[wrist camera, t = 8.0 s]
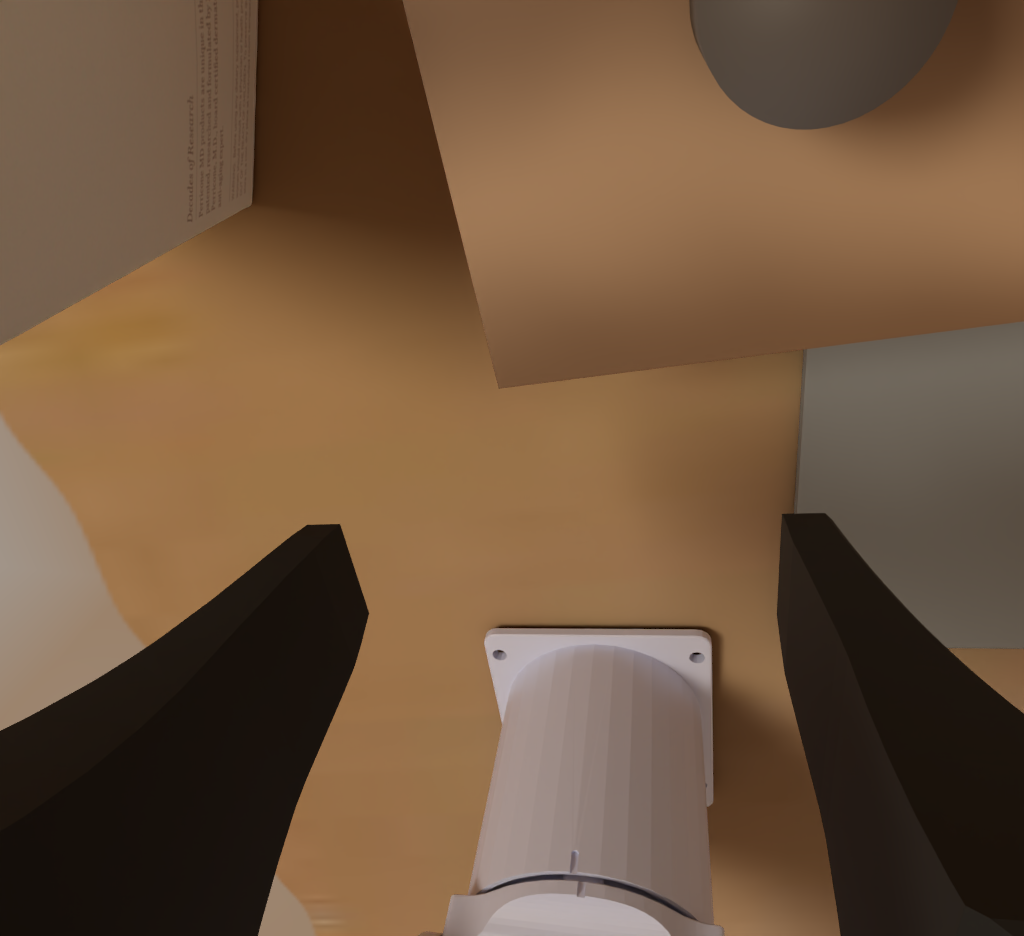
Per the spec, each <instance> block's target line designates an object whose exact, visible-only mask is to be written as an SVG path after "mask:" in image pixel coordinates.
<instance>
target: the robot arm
mask: <svg viewBox="0 0 1024 936" xmlns="http://www.w3.org/2000/svg"><path fill="white" fill-rule="evenodd" d="M368 615H369V612H368V609H367V605H366V602H365V599H364V596H363V593H362V590H361V587H360V584H359V581H358V578H357V575H356V572H355V569H354V566H353V563H352V560H351V557H350V554H349V550H348V547H347V544H346V541H345V538H344V535H343V532H342V529H341V526H340V524H327V525H307V526H305V527H304V528H302V529H301V530H299V531H298V532H296V533H295V534H294V535H292V536H291V537H290V538H289V539H287V540H286V541H285V542H283V543H282V544H281V545H280V546H278V547H277V548H276V549H275V550H273V551H272V552H271V553H270V554H268V555H267V556H266V557H265V558H263V559H262V560H261V561H260V562H258V563H257V564H256V565H255V566H254V567H252V568H251V569H250V570H249V571H247V572H246V573H245V574H244V575H242V576H241V577H240V578H239V579H237V580H236V581H235V582H234V583H232V584H231V585H230V586H229V587H227V588H226V589H225V590H224V591H222V592H221V593H220V594H219V595H217V596H216V597H215V598H213V599H212V600H211V601H210V602H208V603H207V604H206V605H204V606H203V607H201V608H200V609H199V610H197V611H196V612H195V613H193V614H192V615H191V616H189V617H188V618H187V619H185V620H184V621H183V622H181V623H180V624H179V625H177V626H176V627H175V628H173V629H172V630H170V631H169V632H168V633H166V634H165V635H164V636H162V637H161V638H160V639H158V640H157V641H155V642H154V643H152V644H151V645H149V646H148V647H146V648H145V649H143V650H142V651H140V652H139V653H137V654H136V655H134V656H133V657H131V658H130V659H128V660H127V661H125V662H124V663H122V664H120V665H119V666H118V667H115V668H114V669H112V670H111V671H109V672H108V673H106V674H104V675H103V676H101V677H99V678H98V679H96V680H94V681H93V682H91V683H89V684H88V685H86V686H84V687H82V688H80V689H79V690H77V691H75V692H73V693H71V694H69V695H68V696H66V697H64V698H62V699H60V700H59V701H57V702H55V703H53V704H51V705H49V706H48V707H46V708H44V709H42V710H40V711H39V712H37V713H35V714H33V715H31V716H29V717H27V718H25V719H24V720H22V721H20V722H17V723H16V724H13V725H11V726H9V727H7V728H5V729H3V730H1V731H0V936H258V933H259V929H260V925H261V921H262V917H263V914H264V911H265V907H266V903H267V900H268V896H269V893H270V889H271V886H272V882H273V879H274V875H275V872H276V868H277V865H278V861H279V858H280V855H281V852H282V849H283V845H284V842H285V839H286V836H287V833H288V830H289V826H290V823H291V820H292V817H293V814H294V810H295V807H296V805H297V802H298V799H299V797H300V794H301V792H302V789H303V786H304V784H305V781H306V779H307V777H308V774H309V772H310V770H311V767H312V765H313V763H314V760H315V758H316V756H317V753H318V751H319V749H320V746H321V744H322V742H323V740H324V737H325V735H326V733H327V730H328V728H329V726H330V723H331V721H332V719H333V716H334V714H335V712H336V710H337V707H338V705H339V702H340V700H341V698H342V695H343V693H344V691H345V688H346V686H347V683H348V681H349V679H350V676H351V674H352V671H353V669H354V666H355V663H356V660H357V656H358V653H359V649H360V646H361V643H362V639H363V635H364V631H365V627H366V623H367V619H368ZM777 618H778V626H779V634H780V642H781V650H782V657H783V664H784V671H785V676H786V680H787V684H788V688H789V692H790V696H791V700H792V704H793V708H794V712H795V716H796V720H797V724H798V727H799V731H800V735H801V739H802V743H803V747H804V751H805V754H806V758H807V762H808V766H809V770H810V774H811V778H812V781H813V785H814V789H815V793H816V797H817V801H818V805H819V809H820V813H821V818H822V823H823V827H824V832H825V837H826V842H827V848H828V855H829V861H830V868H831V874H832V880H833V887H834V893H835V900H836V906H837V913H838V920H839V926H840V933H841V936H1024V713H1022V712H1021V711H1020V710H1018V709H1017V708H1016V707H1014V706H1013V705H1012V704H1011V703H1009V702H1008V701H1007V700H1006V699H1005V698H1003V697H1002V696H1001V695H1000V694H998V693H997V692H996V691H995V690H994V689H992V688H991V687H990V686H989V685H988V684H986V683H985V682H984V681H983V680H982V679H981V678H979V677H978V676H977V675H976V674H975V673H974V672H973V671H971V670H970V669H969V668H968V667H967V666H966V665H965V664H964V663H962V662H961V661H960V660H959V659H958V658H957V657H956V656H955V655H954V654H953V653H952V652H950V651H949V650H948V649H947V648H946V647H945V646H944V645H943V644H942V643H941V642H940V641H939V640H938V639H937V638H936V637H935V636H934V635H933V634H932V633H931V632H930V631H929V630H928V629H927V628H926V627H925V626H924V625H923V624H922V623H921V622H920V621H919V620H918V619H917V618H916V617H915V616H914V615H913V614H912V613H911V612H910V611H909V610H908V609H907V608H906V607H905V606H904V604H903V603H902V602H901V601H900V600H899V599H898V598H897V597H896V596H895V595H894V594H893V593H892V591H891V590H890V589H889V588H888V587H887V586H886V585H885V584H884V583H883V582H882V580H881V579H880V578H879V577H878V576H877V575H876V574H875V572H874V571H873V570H872V569H871V568H870V567H869V565H868V564H867V563H866V562H865V561H864V559H863V558H862V557H861V556H860V555H859V553H858V552H857V551H856V550H855V548H854V547H853V546H852V545H851V543H850V542H849V541H848V540H847V538H846V537H845V536H844V534H843V533H842V532H841V531H840V529H839V528H838V527H837V525H836V524H835V523H834V521H833V520H832V519H831V518H830V517H829V516H828V515H827V514H826V513H800V514H782V525H781V545H780V564H779V584H778V603H777ZM484 644H485V649H486V653H487V658H488V662H489V667H490V671H491V676H492V680H493V685H494V689H495V694H496V698H497V703H498V707H499V712H500V716H501V721H502V730H501V735H500V739H499V744H498V749H497V754H496V759H495V764H494V769H493V774H492V779H491V784H490V789H489V793H488V798H487V803H486V808H485V813H484V818H483V823H482V828H481V833H480V838H479V843H478V847H477V852H476V857H475V862H474V867H473V872H472V877H471V882H470V887H469V892H468V895H458V894H454V895H452V896H451V900H450V904H449V909H448V913H447V918H446V922H445V927H444V931H443V933H436V932H428V931H426V932H423V933H421V934H419V935H418V936H725V935H724V928H723V927H721V926H719V925H714V917H713V900H712V884H711V867H710V851H709V834H708V818H707V807H708V806H710V805H711V804H712V803H713V710H712V642H711V637H710V635H709V634H708V633H707V632H705V631H702V630H697V629H551V628H495V629H491V630H489V631H488V632H487V634H486V637H485V642H484ZM497 650H502V651H504V652H499V651H497ZM696 652H698V653H702V654H699V655H695V654H692V653H696Z"/></svg>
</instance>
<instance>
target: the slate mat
mask: <svg viewBox="0 0 1024 936" xmlns="http://www.w3.org/2000/svg"><path fill="white" fill-rule="evenodd" d="M800 513H826V514H827V515H828V516H829V517H830V518H831V519H832V520H833V521H834V523H835V524H836V525H837V527H838V528H839V529H840V531H841V532H842V533H843V534H844V536H845V537H846V538H847V540H848V541H849V542H850V543H851V545H852V546H853V547H854V548H855V550H856V551H857V552H858V553H859V555H860V556H861V557H862V558H863V559H864V561H865V562H866V563H867V564H868V565H869V567H870V568H871V569H872V570H873V571H874V572H875V574H876V575H877V576H878V577H879V578H880V579H881V580H882V582H883V583H884V584H885V585H886V586H887V587H888V588H889V589H890V590H891V591H892V593H893V594H894V595H895V596H896V597H897V598H898V599H899V600H900V601H901V602H902V603H903V604H904V606H905V607H906V608H907V609H908V610H909V611H910V612H911V613H912V614H913V615H914V616H915V617H916V618H917V619H918V620H919V621H920V622H921V623H922V624H923V625H924V626H925V627H926V628H927V629H928V630H929V631H930V632H931V633H932V634H933V635H934V636H935V637H936V638H937V639H938V640H939V641H940V642H941V643H942V644H943V645H944V646H945V647H946V648H1005V649H1024V321H1023V322H1016V323H1008V324H1000V325H992V326H984V327H976V328H969V329H961V330H953V331H945V332H937V333H930V334H922V335H914V336H906V337H898V338H890V339H883V340H875V341H867V342H859V343H851V344H844V345H836V346H828V347H820V348H812V349H804V352H803V369H802V386H801V402H800V419H799V436H798V453H797V470H796V487H795V503H794V514H800Z"/></svg>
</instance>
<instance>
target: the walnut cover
mask: <svg viewBox="0 0 1024 936" xmlns="http://www.w3.org/2000/svg"><path fill="white" fill-rule="evenodd" d="M402 1H403V5H404V9H405V13H406V17H407V21H408V25H409V29H410V33H411V37H412V41H413V45H414V49H415V53H416V57H417V61H418V65H419V69H420V73H421V77H422V81H423V85H424V89H425V93H426V97H427V101H428V105H429V109H430V113H431V117H432V121H433V125H434V129H435V134H436V138H437V142H438V146H439V150H440V154H441V158H442V162H443V166H444V170H445V174H446V178H447V182H448V186H449V190H450V194H451V198H452V202H453V206H454V210H455V214H456V218H457V222H458V226H459V230H460V234H461V238H462V242H463V246H464V250H465V254H466V258H467V262H468V266H469V271H470V275H471V279H472V283H473V287H474V291H475V295H476V299H477V303H478V307H479V311H480V315H481V319H482V323H483V327H484V331H485V335H486V339H487V343H488V347H489V351H490V355H491V359H492V363H493V367H494V371H495V375H496V379H497V383H498V387H499V389H500V388H507V387H515V386H523V385H531V384H539V383H546V382H554V381H562V380H570V379H578V378H586V377H593V376H601V375H609V374H617V373H625V372H632V371H640V370H648V369H656V368H664V367H672V366H679V365H687V364H695V363H703V362H711V361H718V360H726V359H734V358H742V357H750V356H758V355H765V354H773V353H781V352H789V351H797V350H804V349H812V348H820V347H828V346H836V345H844V344H851V343H859V342H867V341H875V340H883V339H890V338H898V337H906V336H914V335H922V334H930V333H937V332H945V331H953V330H961V329H969V328H976V327H984V326H992V325H1000V324H1008V323H1016V322H1023V321H1024V0H402Z"/></svg>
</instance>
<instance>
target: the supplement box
mask: <svg viewBox="0 0 1024 936" xmlns="http://www.w3.org/2000/svg"><path fill="white" fill-rule="evenodd" d="M257 29H258V0H0V345H1V344H3V343H5V342H7V341H9V340H11V339H13V338H15V337H16V336H18V335H20V334H22V333H24V332H25V331H27V330H29V329H31V328H32V327H34V326H36V325H38V324H40V323H41V322H43V321H45V320H47V319H48V318H50V317H52V316H54V315H55V314H57V313H59V312H61V311H63V310H64V309H66V308H68V307H70V306H72V305H73V304H75V303H77V302H79V301H81V300H82V299H84V298H86V297H88V296H90V295H91V294H93V293H95V292H97V291H99V290H100V289H102V288H104V287H106V286H107V285H109V284H111V283H113V282H115V281H116V280H118V279H120V278H122V277H124V276H126V275H127V274H129V273H131V272H133V271H134V270H136V269H138V268H140V267H141V266H143V265H145V264H147V263H148V262H150V261H152V260H154V259H155V258H157V257H159V256H161V255H163V254H164V253H166V252H168V251H170V250H171V249H173V248H175V247H177V246H179V245H180V244H182V243H184V242H186V241H188V240H189V239H191V238H193V237H195V236H197V235H198V234H200V233H202V232H204V231H206V230H207V229H209V228H211V227H213V226H214V225H216V224H218V223H220V222H222V221H223V220H225V219H227V218H229V217H230V216H232V215H234V214H236V213H238V212H239V211H241V210H243V209H245V208H247V207H250V205H251V204H252V193H253V168H254V131H255V105H256V63H257Z"/></svg>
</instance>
